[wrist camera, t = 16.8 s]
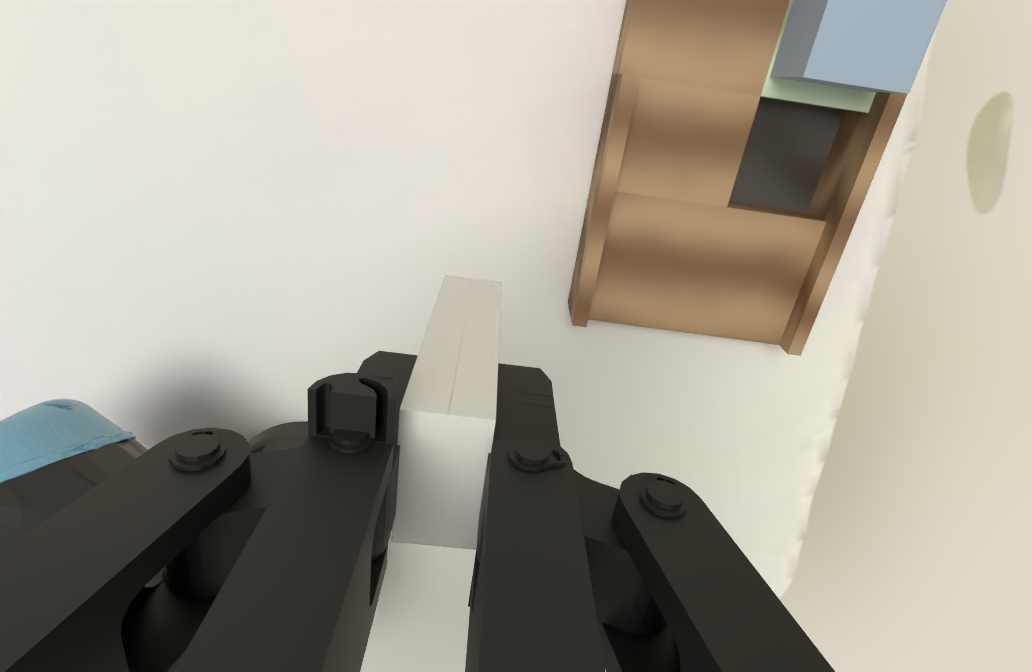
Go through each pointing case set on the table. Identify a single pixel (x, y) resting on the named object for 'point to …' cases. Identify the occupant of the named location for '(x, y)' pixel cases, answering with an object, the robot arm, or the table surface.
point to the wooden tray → (721, 178)
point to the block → (857, 43)
